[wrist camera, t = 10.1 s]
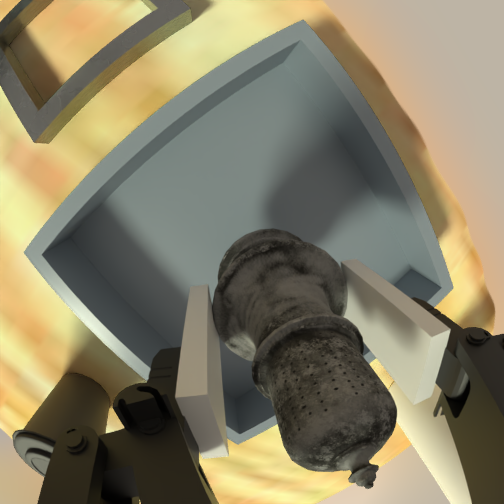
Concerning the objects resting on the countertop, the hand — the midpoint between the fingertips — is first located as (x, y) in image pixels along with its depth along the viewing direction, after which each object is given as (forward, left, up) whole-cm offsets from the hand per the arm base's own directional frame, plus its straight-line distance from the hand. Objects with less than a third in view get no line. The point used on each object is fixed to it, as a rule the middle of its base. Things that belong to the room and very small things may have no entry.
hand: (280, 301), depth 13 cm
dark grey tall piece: (0, 0, -3) cm, 3 cm away
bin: (0, 0, -8) cm, 8 cm away
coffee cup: (+1, -21, -8) cm, 23 cm away
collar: (-22, 0, -8) cm, 23 cm away
